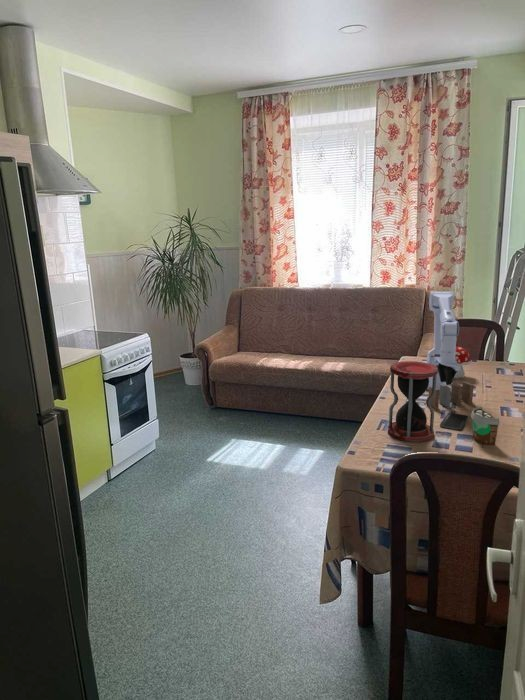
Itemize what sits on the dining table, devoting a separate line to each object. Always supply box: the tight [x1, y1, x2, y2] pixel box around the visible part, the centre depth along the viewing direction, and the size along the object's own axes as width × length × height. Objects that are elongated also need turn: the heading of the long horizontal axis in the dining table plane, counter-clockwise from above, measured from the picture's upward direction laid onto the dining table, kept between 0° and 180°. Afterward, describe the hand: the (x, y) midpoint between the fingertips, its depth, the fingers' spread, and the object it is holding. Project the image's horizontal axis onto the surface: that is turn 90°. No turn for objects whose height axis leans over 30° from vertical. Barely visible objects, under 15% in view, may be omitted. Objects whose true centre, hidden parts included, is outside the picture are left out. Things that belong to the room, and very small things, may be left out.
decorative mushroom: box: [453, 346, 473, 380], centre depth 248 cm, size 14×14×15 cm
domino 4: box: [461, 381, 475, 404], centre depth 215 cm, size 2×5×8 cm, turn 17°
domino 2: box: [439, 385, 451, 408], centre depth 212 cm, size 2×5×8 cm, turn 18°
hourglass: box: [387, 360, 438, 443], centre depth 183 cm, size 16×16×25 cm
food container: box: [470, 406, 500, 446], centre depth 178 cm, size 12×6×10 cm, turn 5°
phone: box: [439, 412, 470, 432], centre depth 195 cm, size 8×1×15 cm
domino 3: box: [450, 382, 463, 406], centre depth 214 cm, size 2×5×8 cm, turn 17°
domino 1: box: [427, 386, 440, 409], centre depth 211 cm, size 2×5×8 cm, turn 18°
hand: (445, 383), depth 211 cm, fingers open, 3 cm apart
